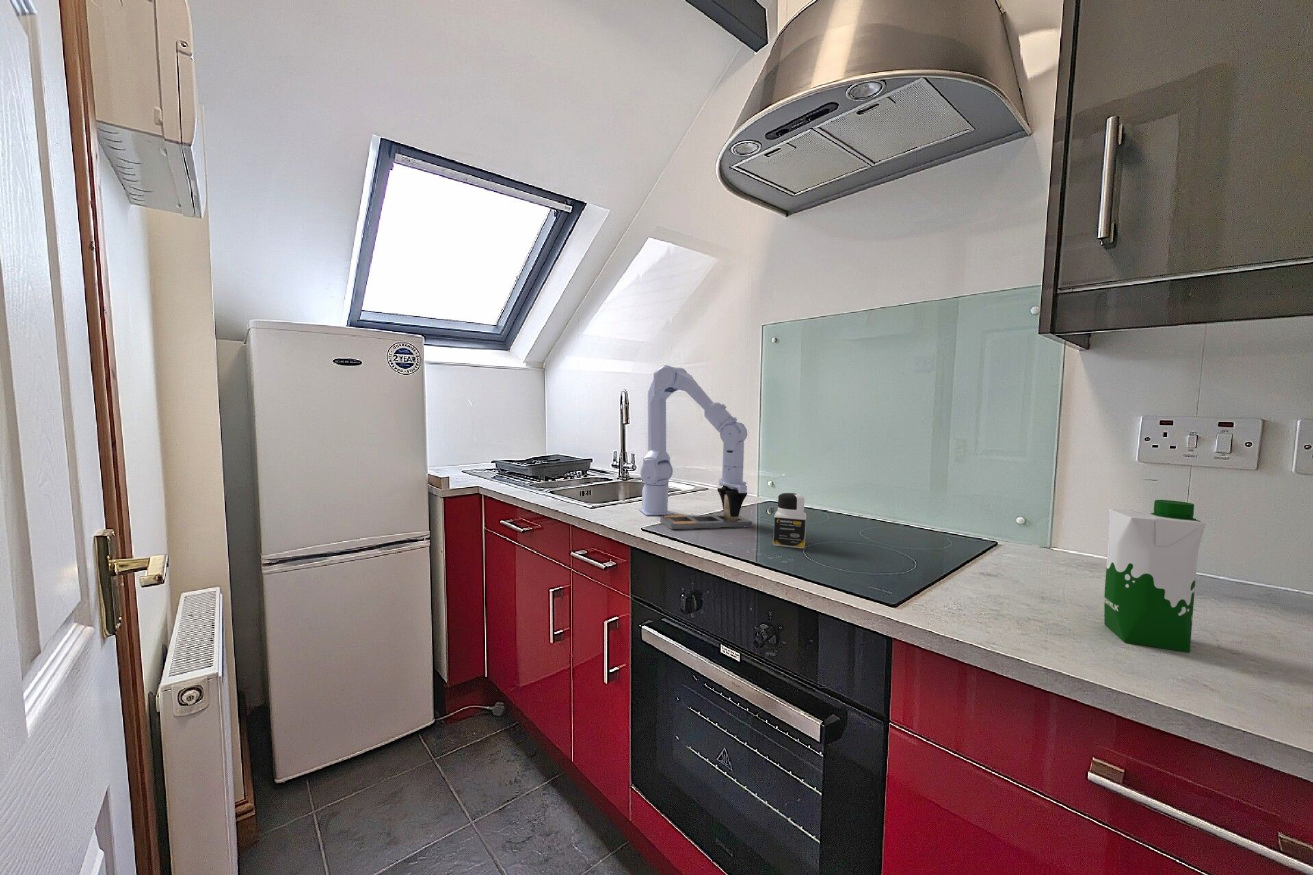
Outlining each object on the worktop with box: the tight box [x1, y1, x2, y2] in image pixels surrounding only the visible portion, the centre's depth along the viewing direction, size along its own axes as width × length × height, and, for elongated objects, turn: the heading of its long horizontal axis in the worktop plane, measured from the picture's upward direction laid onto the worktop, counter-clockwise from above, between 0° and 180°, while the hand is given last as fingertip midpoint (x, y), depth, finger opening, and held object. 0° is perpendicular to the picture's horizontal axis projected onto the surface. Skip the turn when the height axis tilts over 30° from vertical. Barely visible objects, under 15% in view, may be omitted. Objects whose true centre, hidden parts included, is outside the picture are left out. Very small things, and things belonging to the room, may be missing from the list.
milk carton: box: [1103, 499, 1206, 653], centre depth 75 cm, size 9×9×20 cm
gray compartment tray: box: [659, 514, 753, 530], centre depth 143 cm, size 10×23×2 cm, turn 106°
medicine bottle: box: [772, 492, 807, 549], centre depth 125 cm, size 7×7×12 cm
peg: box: [723, 494, 738, 521], centre depth 145 cm, size 4×4×8 cm
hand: (731, 514), depth 145 cm, fingers closed on peg, 4 cm apart
